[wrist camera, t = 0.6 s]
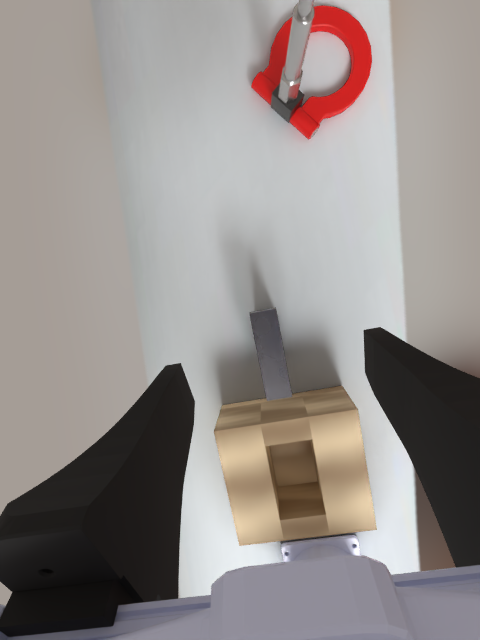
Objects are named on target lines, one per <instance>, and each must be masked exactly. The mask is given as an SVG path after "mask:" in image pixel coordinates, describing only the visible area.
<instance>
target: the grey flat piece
mask: <svg viewBox="0 0 480 640" xmlns="http://www.w3.org/2000/svg"><path fill="white" fill-rule="evenodd" d="M250 318H251V323H252V329H253V334H254V339H255V344H256V349H257V354H258V359H259V364H260V369H261V374H262V379H263V384H264V389H265V394H266V399H267V401H271V400H277V399H283V398H289V397H292V392H291V387H290V381H289V376H288V371H287V365H286V360H285V355H284V349H283V344H282V338H281V333H280V328H279V322H278V317H277V312H276V308H270V309H265V310H260V311H254V312H250Z"/></svg>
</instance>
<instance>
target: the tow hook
mask: <svg viewBox="0 0 480 640" xmlns="http://www.w3.org/2000/svg"><path fill="white" fill-rule="evenodd" d="M313 2H314V0H299V3H298V4H297V5H296V6H295V8H294V11H293V16H292V17H291V18H290V19H289V20H288V21H287V22H285V23H284V25H283V26H282V28H281V29H280V30H279V32H278V33H277V35H276V37H275V40H274V42H273V45H272V47H271V53H270V60H269V66H268V67H267V68H266V69H265V71H264V72H259V73H258V74H257V75H256V77H255V78H254V80H253V83H252V86H251V87H252V89H254V90H255V91H256V92H257V93H258V94H259V95H260V96H261V97H262V98H263V99H265V100H266V101H267V102H268V103H269V104H270V105H271V108H273V109H274V110H275V111H276V112H277V113H278V114H279V115H280V116H281V117H282V118H284V119H285V120H286V121H287V122H288V123H291V124H292V125H293V126H294V127H295V128H297V129H298V130H299V131H300V132H301V133H302V134H303V135H304V136H305V137H306V138H308V139H310V138H311V137H312V136H313V135H314V134H315V133H316V131H317V130H318V128H319V126H320V124H319V123H320V122H321V121H322V120H323V119H325V118H330V117H333V116H335V115H337V114H339V113H342V112H343V111H344V110H346V109H347V108H348V107H349V106H351V105H352V104H353V103H354V102H355V100H356V99H357V98H358V96H359V95H360V94H361V92H362V91H363V89H364V87H365V84H366V82H367V80H368V78H369V75H370V69H371V63H372V55H371V45H370V42H369V40H368V37H367V34H366V32H365V30H364V29H363V27H362V26H361V24H360V23H359V21H357V20H356V19H355V18H354V17H353V16H352V15H350V14H349V13H348V12H346V11H343V10H341V9H339V8H337V7H331V6H323V5H321V6H315V7H313ZM317 31H324V32H329V33H332V34H334V35H336V36H337V37H339V38H340V39H341V40H342V41H343V42H344V43H345V45H346V46H347V48H348V50H349V53H350V56H351V72H350V76H349V78H348V80H347V82H346V83H345V84H344V86H343V87H342V88H340V89H339V90H338V91H337V92H335V93H333V94H331V95H329V96H324V97H314V96H312V97H310V98H309V99H308V100H307V101H306V102H305V104H304V105H303V106H302V107H301V104H302V101H303V97H304V94H303V93H302V92H301V91H300V90H299V86H300V82H301V77H302V72H303V71H302V65H303V61H304V57H305V52H306V48H307V44H308V40H309V35H310V33H311V32H317Z"/></svg>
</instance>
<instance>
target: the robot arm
mask: <svg viewBox="0 0 480 640" xmlns="http://www.w3.org/2000/svg"><path fill="white" fill-rule="evenodd" d="M364 352H365V373H366V376H367V378H368V381H369V383H370V386H371V388H372V390H373V393H374V395H375V397H376V398H377V400H378V402H379V404H380V405H381V407H382V409H383V411H384V412H385V414H386V416H387V418H388V419H389V421H390V423H391V424H392V426H393V428H394V429H395V431H396V433H397V435H398V436H399V438H400V440H401V441H402V443H403V445H404V447H405V449H406V451H407V453H408V454H409V457H410V459H411V461H412V463H413V465H414V468H415V470H416V472H417V474H418V476H419V479H420V481H421V483H422V485H423V488H424V490H425V492H426V495H427V497H428V499H429V501H430V504H431V506H432V509H433V511H434V513H435V516H436V518H437V521H438V523H439V526H440V528H441V531H442V533H443V536H444V538H445V540H446V543H447V546H448V548H449V551H450V553H451V556H452V558H453V561H454V563H455V566H456V568H448V569H440V570H430V571H421V572H412V573H403V574H394V575H391V574H390V572H389V570H388V569H387V567H386V565H385V564H383V563H381V562H380V561H377V560H374V559H372V558H369V557H367V556H361V554H360V548H359V542H358V538H357V537H356V536H355V535H347V536H338V537H329V538H321V539H312V540H304V541H295V542H287V543H283V544H282V545H281V551H282V556H283V561H284V562H282V563H273V564H265V565H257V566H248V567H243V568H239V569H235V570H232V571H228V572H226V573H225V574H223V575H222V576H221V577H220V578H218V579H217V580H216V581H215V582H214V583H213V584H212V588H211V595H206V596H197V597H188V598H179V599H178V575H179V543H180V524H181V508H182V494H183V484H184V477H185V471H186V466H187V460H188V454H189V449H190V443H191V438H192V432H193V426H194V408H195V401H194V398H193V395H192V393H191V390H190V387H189V384H188V382H187V379H186V376H185V374H184V371H183V368H182V366H181V363H179V364H173V365H167V366H165V367H164V369H163V370H162V371H161V372H160V373H159V375H158V376H157V377H156V378H155V380H154V381H153V382H152V383H151V385H150V386H149V387H148V388H147V390H146V391H145V392H144V393H143V394H142V396H141V397H140V398H139V399H138V400H137V402H136V403H135V404H134V405H133V406H132V407H131V408H130V409H129V410H128V412H127V413H126V414H125V415H124V416H123V417H122V418H121V419H120V420H119V421H118V422H117V423H116V424H115V425H114V426H113V427H112V428H111V429H110V430H109V431H108V432H107V433H106V434H105V435H104V436H103V437H102V438H100V439H99V440H98V441H97V442H96V443H95V444H93V445H92V446H91V447H90V448H88V449H87V450H86V451H85V452H84V453H82V454H81V455H80V456H79V457H77V458H76V459H75V460H74V461H72V462H71V463H70V464H68V465H67V466H65V467H64V468H63V469H61V470H60V471H58V472H57V473H56V474H54V475H53V476H51V477H50V478H48V479H47V480H45V481H44V482H42V483H41V484H39V485H38V486H36V487H34V488H33V489H31V490H29V491H28V492H26V493H25V494H23V495H21V496H20V497H18V498H17V499H15V500H13V501H11V502H10V503H8V504H7V506H6V507H5V509H4V511H3V512H2V514H1V516H0V582H1V583H3V584H4V585H5V586H6V587H7V588H8V589H10V590H11V591H12V592H13V593H12V595H11V597H10V599H9V601H8V603H7V605H6V606H4V605H0V640H480V378H477V377H475V376H472V375H470V374H467V373H465V372H462V371H460V370H457V369H456V368H453V367H451V366H449V365H447V364H445V363H443V362H441V361H439V360H437V359H435V358H433V357H431V356H429V355H427V354H425V353H424V352H422V351H420V350H418V349H416V348H415V347H413V346H411V345H410V344H408V343H406V342H404V341H403V340H401V339H399V338H398V337H396V336H394V335H393V334H391V333H389V332H388V331H386V330H384V329H383V328H381V327H378V328H373V329H367V330H364ZM352 544H355V545H352ZM285 552H288V553H285Z"/></svg>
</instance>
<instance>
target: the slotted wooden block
mask: <svg viewBox="0 0 480 640" xmlns="http://www.w3.org/2000/svg"><path fill="white" fill-rule="evenodd" d="M214 434H215V439H216V443H217V448H218V452H219V456H220V461H221V465H222V470H223V474H224V479H225V483H226V488H227V492H228V497H229V501H230V506H231V510H232V515H233V519H234V524H235V528H236V533H237V537H238V541H239V546H242V545H250V544H259V543H267V542H276V541H284V540H293V539H301V538H310V537H318V536H327V535H335V534H344V533H352V532H361V531H370V530H377V528H376V522H375V515H374V509H373V503H372V496H371V490H370V484H369V477H368V471H367V465H366V459H365V452H364V446H363V440H362V433H361V427H360V421H359V414H358V409H357V407H356V406H355V404H354V403H353V401H352V400H351V398H350V397H349V395H348V394H347V392H346V391H345V389H344V388H343V386H337V387H331V388H325V389H319V390H312V391H306V392H300V393H294V394H292V397H289V398H283V399H277V400H271V401H267V399H266V398H263V399H257V400H251V401H245V402H238V403H232V404H226V405H222V407H221V410H220V414H219V417H218V420H217V423H216V426H215V430H214Z"/></svg>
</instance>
